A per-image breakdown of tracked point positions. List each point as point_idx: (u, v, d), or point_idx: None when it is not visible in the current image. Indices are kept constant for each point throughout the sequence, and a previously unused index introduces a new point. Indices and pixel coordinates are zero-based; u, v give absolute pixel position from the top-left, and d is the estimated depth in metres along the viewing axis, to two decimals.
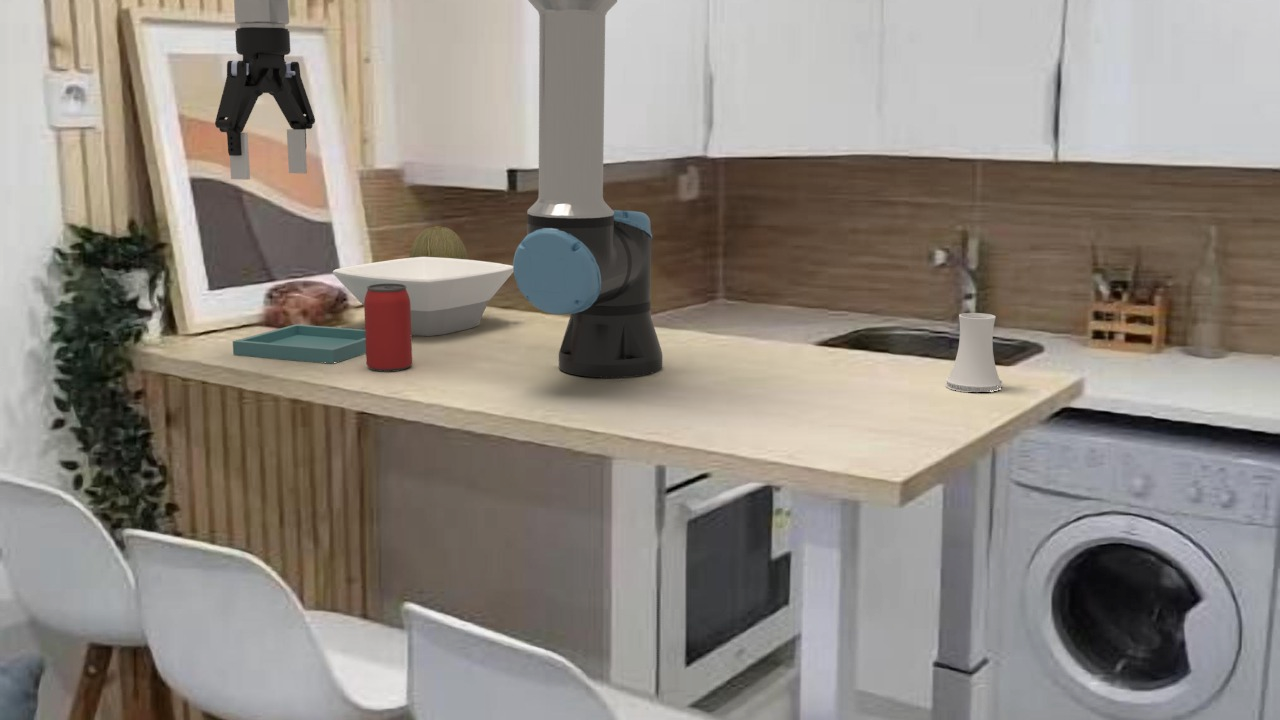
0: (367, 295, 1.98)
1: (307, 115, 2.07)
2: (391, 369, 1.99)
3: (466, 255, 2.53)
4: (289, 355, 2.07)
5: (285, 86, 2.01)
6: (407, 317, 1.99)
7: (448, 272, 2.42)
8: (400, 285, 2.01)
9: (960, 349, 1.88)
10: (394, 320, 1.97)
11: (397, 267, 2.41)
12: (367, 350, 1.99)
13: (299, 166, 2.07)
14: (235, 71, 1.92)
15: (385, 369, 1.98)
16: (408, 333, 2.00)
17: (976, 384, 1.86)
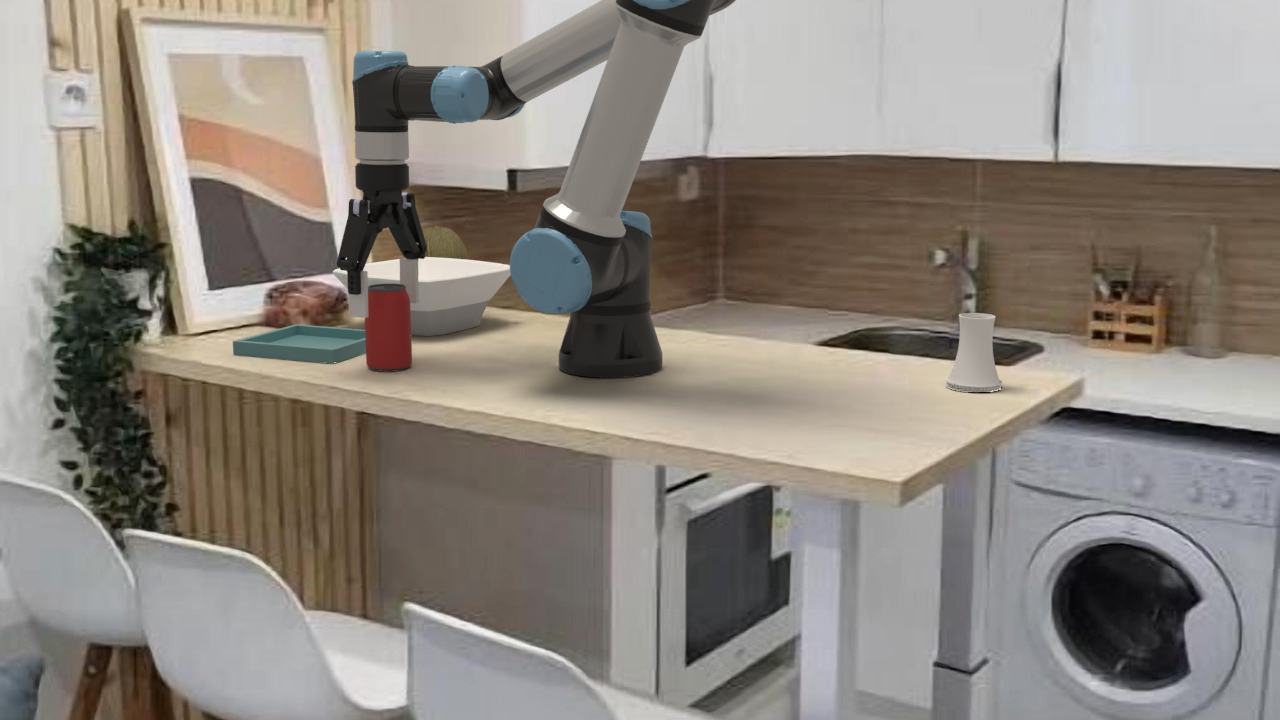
0: None
1: (420, 244, 2.06)
2: (391, 369, 1.99)
3: (466, 255, 2.53)
4: (289, 355, 2.07)
5: (402, 220, 1.99)
6: (407, 317, 1.99)
7: (448, 272, 2.42)
8: (400, 285, 2.01)
9: (960, 349, 1.88)
10: (394, 320, 1.97)
11: (397, 267, 2.41)
12: (367, 350, 1.99)
13: (411, 296, 2.05)
14: (357, 210, 1.91)
15: (385, 369, 1.98)
16: (408, 333, 2.00)
17: (976, 384, 1.86)
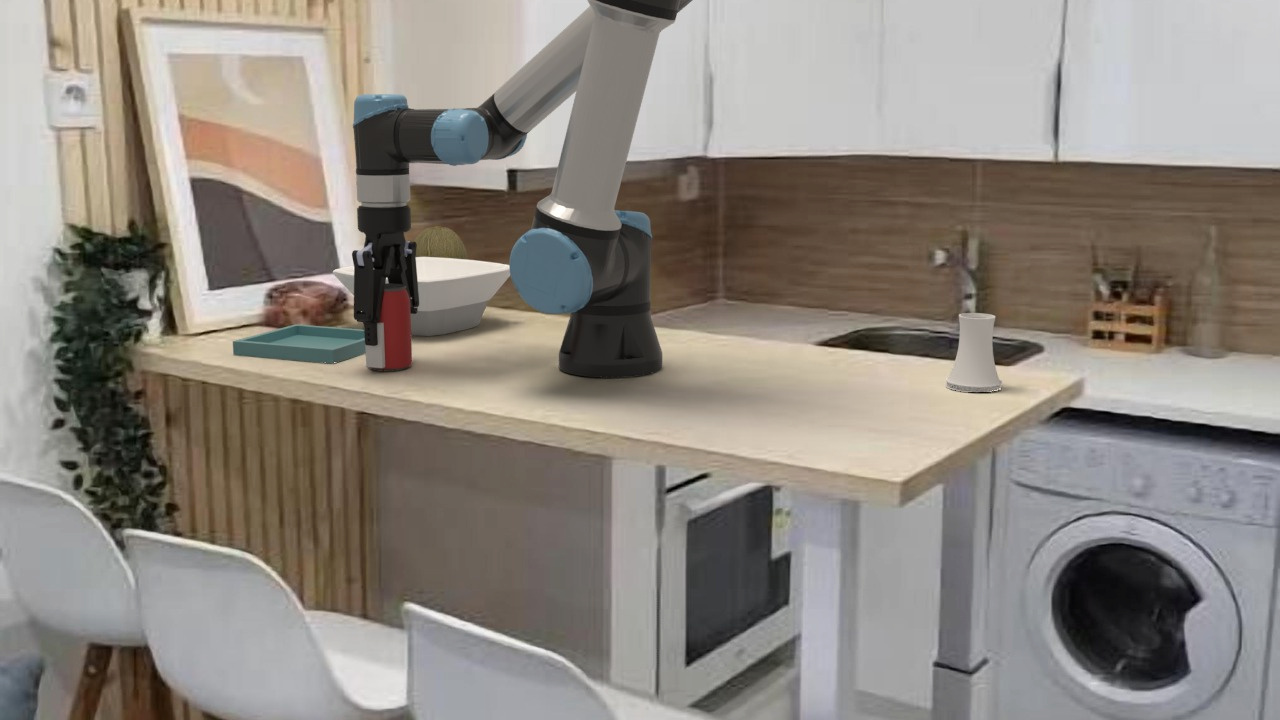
0: None
1: (413, 297, 2.04)
2: (391, 369, 1.99)
3: (466, 255, 2.53)
4: (289, 355, 2.07)
5: (402, 263, 1.99)
6: (407, 317, 1.99)
7: (448, 272, 2.42)
8: (400, 285, 2.01)
9: (960, 349, 1.88)
10: (394, 320, 1.97)
11: None
12: None
13: None
14: (362, 263, 1.92)
15: (385, 369, 1.98)
16: (408, 333, 2.00)
17: (976, 384, 1.86)
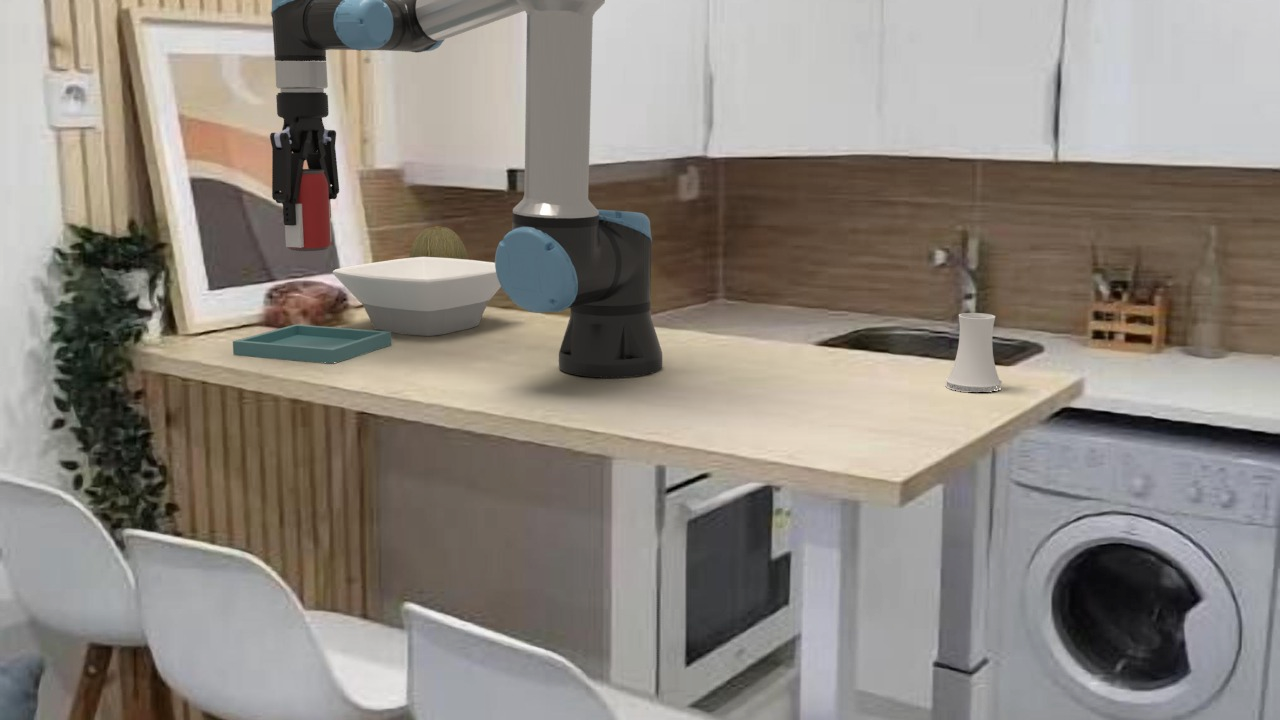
0: None
1: (333, 183, 2.14)
2: (309, 249, 2.08)
3: (466, 255, 2.53)
4: (289, 355, 2.07)
5: (320, 149, 2.09)
6: (325, 200, 2.09)
7: (448, 272, 2.42)
8: (319, 170, 2.11)
9: (960, 349, 1.88)
10: (312, 201, 2.07)
11: (397, 267, 2.41)
12: None
13: None
14: (279, 144, 2.02)
15: (303, 249, 2.08)
16: (326, 215, 2.09)
17: (976, 384, 1.86)
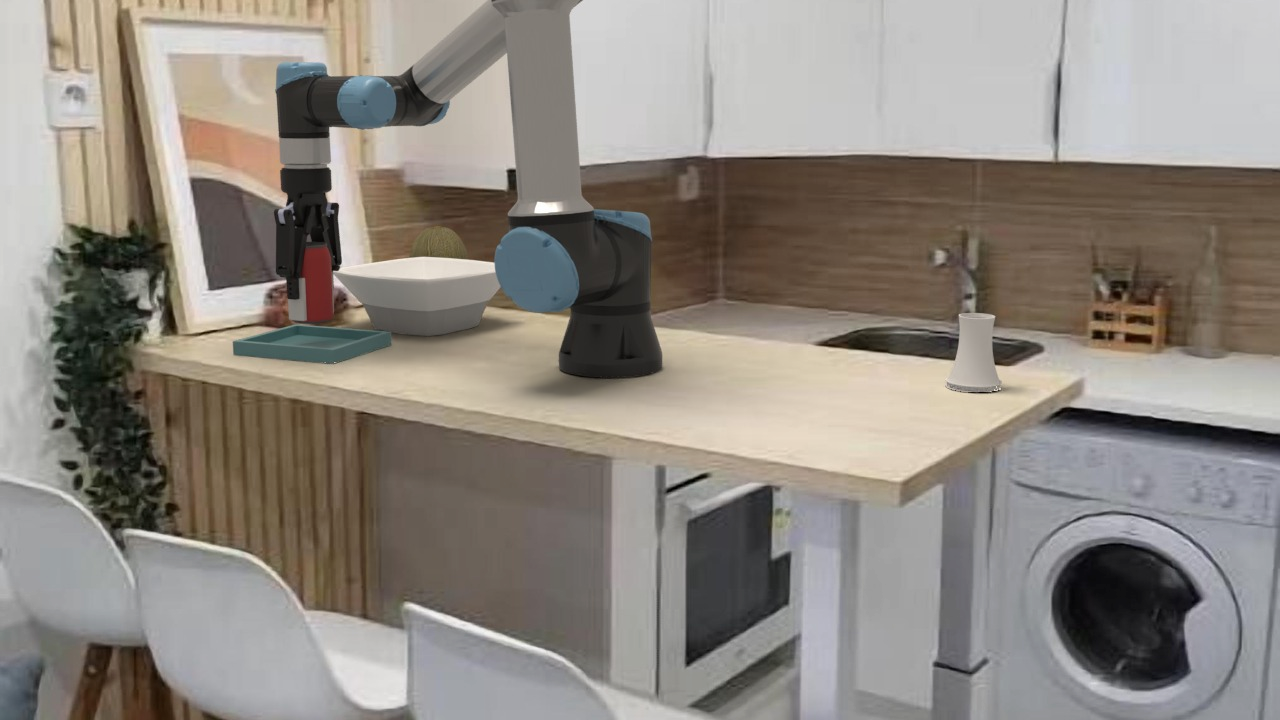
0: None
1: (336, 255, 2.16)
2: (312, 322, 2.11)
3: (466, 255, 2.53)
4: (289, 355, 2.07)
5: (323, 222, 2.11)
6: (328, 273, 2.11)
7: (448, 272, 2.42)
8: (322, 243, 2.13)
9: (960, 349, 1.88)
10: (315, 275, 2.09)
11: (397, 267, 2.41)
12: None
13: None
14: (283, 220, 2.04)
15: (306, 322, 2.11)
16: (329, 288, 2.12)
17: (976, 384, 1.86)
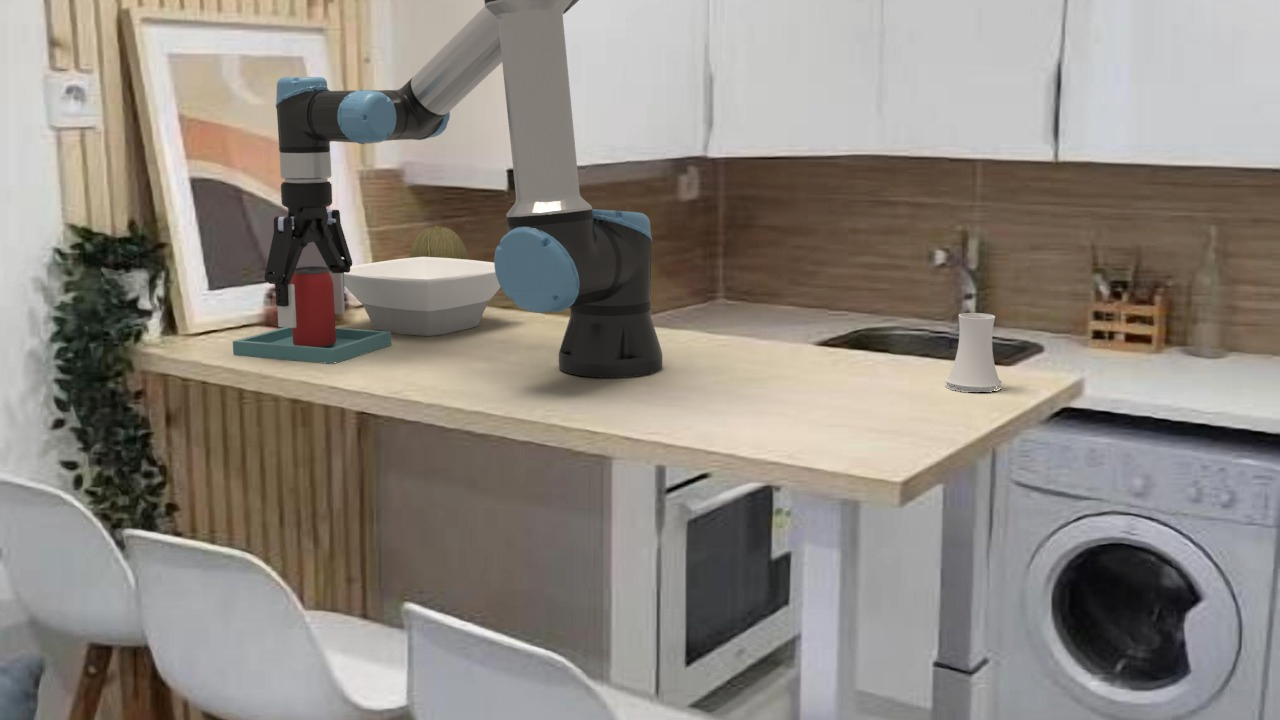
0: (292, 277, 2.11)
1: (345, 259, 2.19)
2: None
3: (466, 255, 2.53)
4: (289, 355, 2.07)
5: (326, 234, 2.12)
6: (330, 298, 2.12)
7: (448, 272, 2.42)
8: (324, 268, 2.14)
9: (960, 349, 1.88)
10: (317, 301, 2.10)
11: (397, 267, 2.41)
12: (293, 329, 2.12)
13: (337, 307, 2.19)
14: (282, 227, 2.04)
15: None
16: (331, 313, 2.12)
17: (976, 384, 1.86)
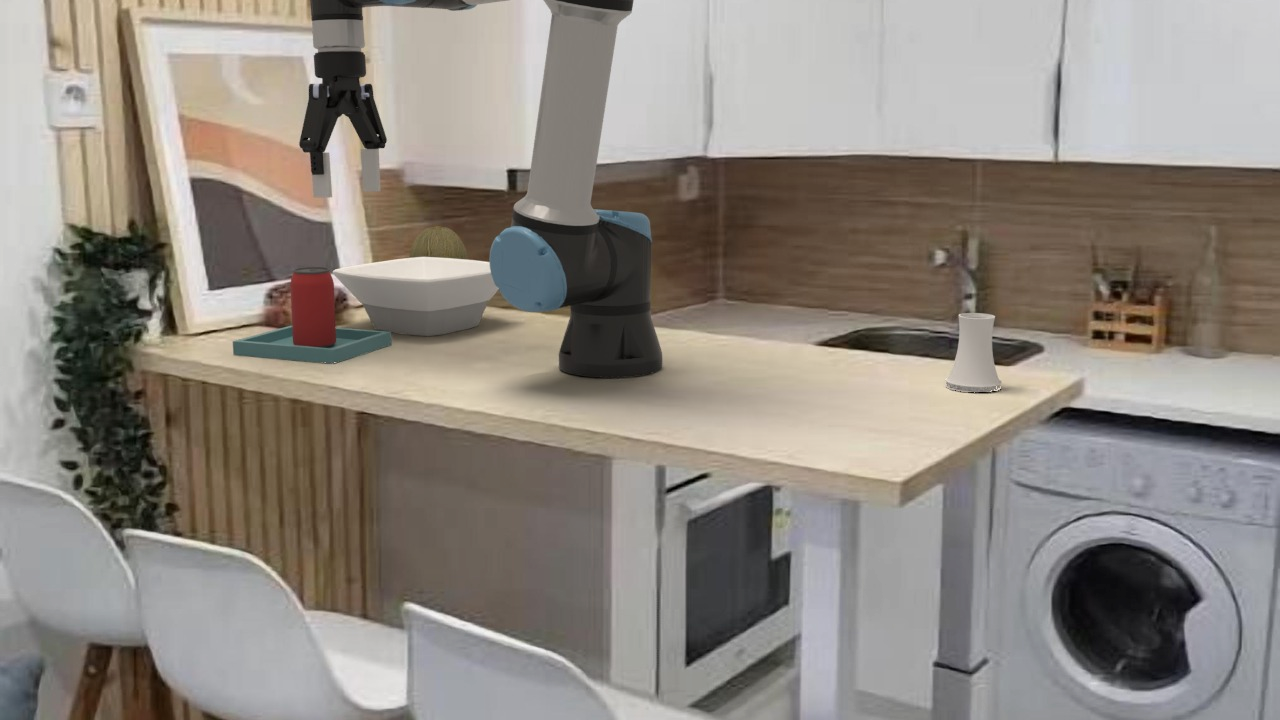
0: (292, 277, 2.11)
1: (380, 135, 2.15)
2: None
3: (466, 255, 2.53)
4: (289, 355, 2.07)
5: (361, 107, 2.08)
6: (330, 298, 2.12)
7: (448, 272, 2.42)
8: (325, 268, 2.14)
9: (959, 349, 1.88)
10: (318, 301, 2.10)
11: (397, 267, 2.41)
12: (293, 329, 2.12)
13: (373, 184, 2.15)
14: (317, 93, 2.00)
15: None
16: (332, 313, 2.13)
17: (975, 384, 1.86)
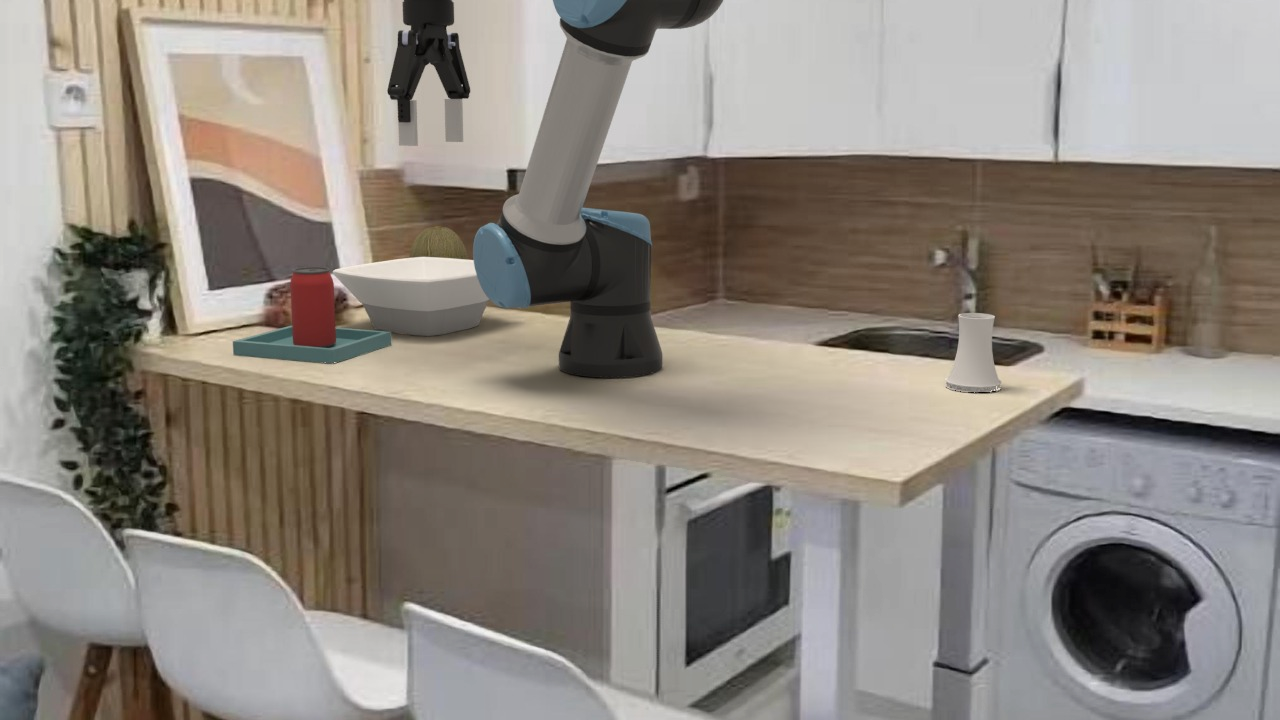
0: (292, 277, 2.11)
1: (464, 85, 2.14)
2: None
3: (466, 255, 2.53)
4: (289, 355, 2.07)
5: (447, 56, 2.07)
6: (330, 298, 2.12)
7: (448, 272, 2.42)
8: (324, 268, 2.14)
9: (959, 349, 1.88)
10: (318, 300, 2.10)
11: (397, 267, 2.41)
12: (293, 329, 2.12)
13: (456, 135, 2.13)
14: (406, 40, 1.99)
15: None
16: (332, 313, 2.13)
17: (975, 384, 1.86)
